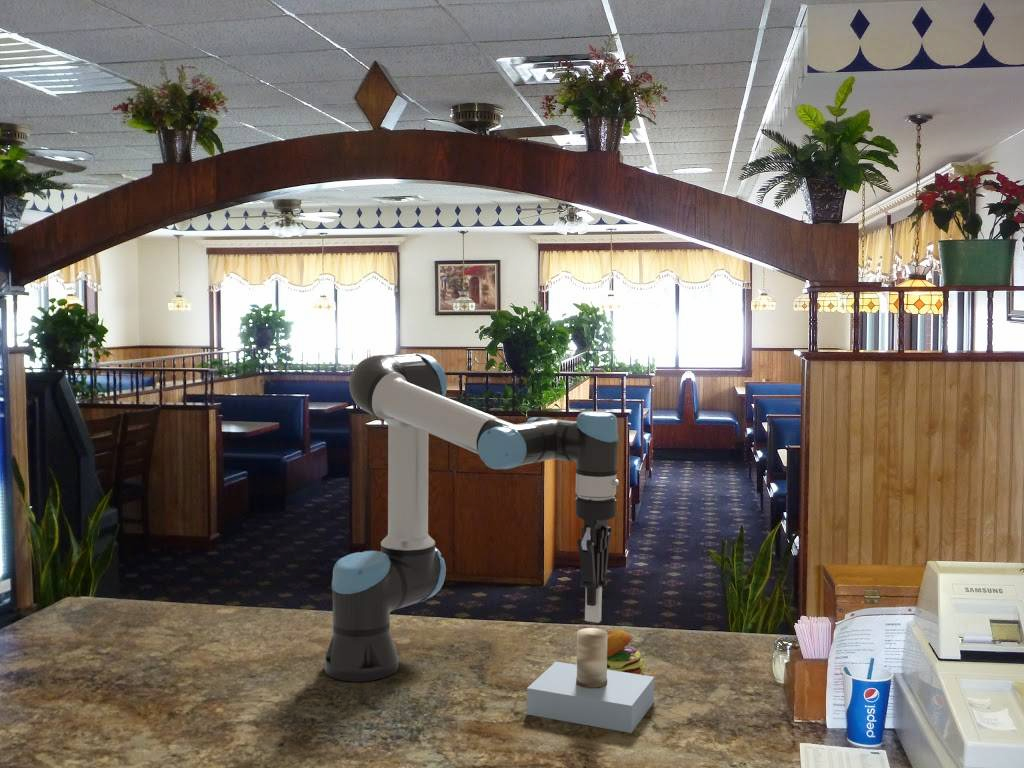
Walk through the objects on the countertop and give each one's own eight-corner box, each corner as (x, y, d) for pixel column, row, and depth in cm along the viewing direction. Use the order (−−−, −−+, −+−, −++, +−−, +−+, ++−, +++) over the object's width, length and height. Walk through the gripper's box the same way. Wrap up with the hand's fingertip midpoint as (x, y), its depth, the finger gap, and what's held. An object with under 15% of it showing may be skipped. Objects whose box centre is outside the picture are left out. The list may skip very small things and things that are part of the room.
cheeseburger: (644, 683, 201) (633, 635, 201) (592, 692, 203) (581, 644, 203) (647, 665, 211) (636, 619, 210) (598, 673, 213) (587, 628, 213)
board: (526, 714, 186) (527, 688, 186) (555, 686, 200) (555, 661, 200) (631, 733, 178) (631, 705, 178) (653, 702, 192) (654, 676, 192)
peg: (571, 708, 188) (572, 635, 186) (581, 697, 193) (582, 626, 192) (601, 714, 185) (602, 639, 184) (610, 702, 191) (611, 630, 189)
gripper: (604, 504, 179) (601, 634, 181) (625, 491, 191) (622, 613, 193) (564, 500, 182) (561, 628, 184) (588, 488, 194) (585, 608, 196)
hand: (593, 620), depth 188 cm, fingers closed
